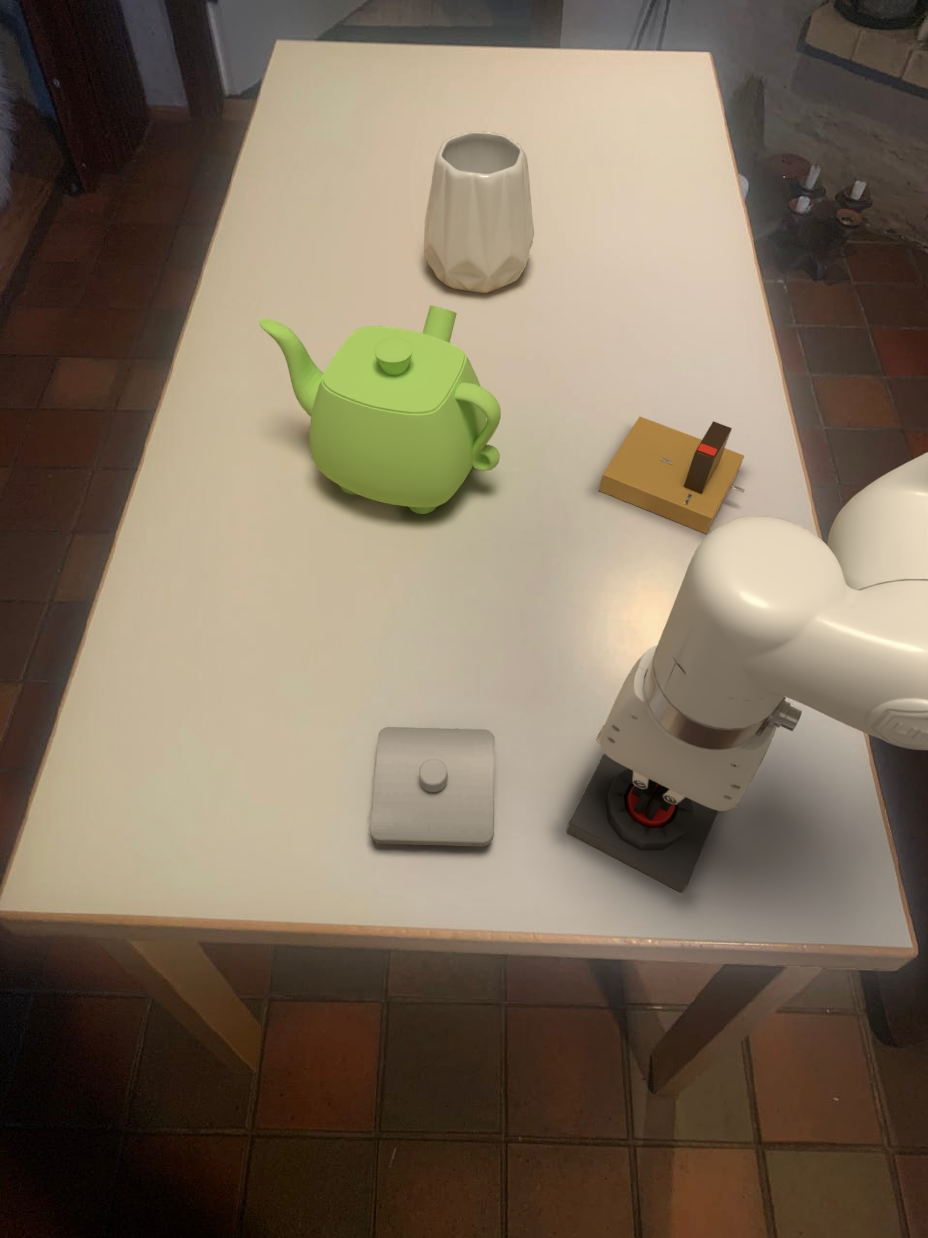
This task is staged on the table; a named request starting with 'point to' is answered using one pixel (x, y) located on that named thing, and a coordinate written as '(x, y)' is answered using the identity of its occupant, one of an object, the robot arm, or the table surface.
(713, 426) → the lock knob
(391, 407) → the teapot
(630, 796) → the button
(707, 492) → the plate
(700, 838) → the button base
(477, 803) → the light switch
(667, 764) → the robot arm
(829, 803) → the table surface
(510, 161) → the vase
